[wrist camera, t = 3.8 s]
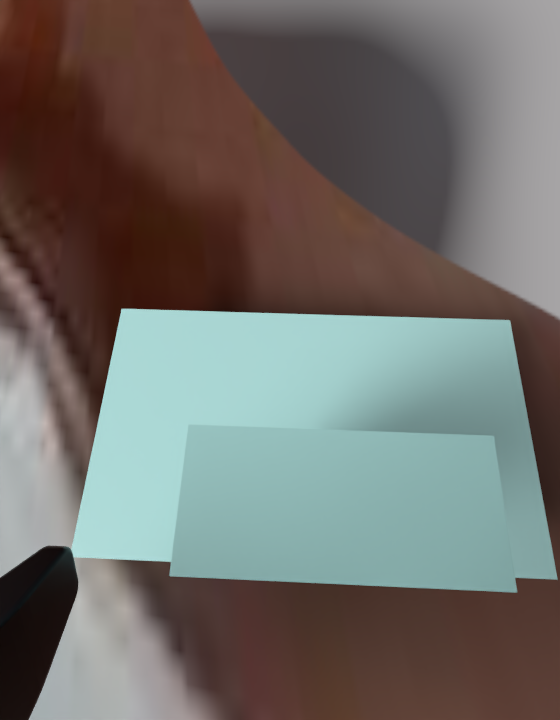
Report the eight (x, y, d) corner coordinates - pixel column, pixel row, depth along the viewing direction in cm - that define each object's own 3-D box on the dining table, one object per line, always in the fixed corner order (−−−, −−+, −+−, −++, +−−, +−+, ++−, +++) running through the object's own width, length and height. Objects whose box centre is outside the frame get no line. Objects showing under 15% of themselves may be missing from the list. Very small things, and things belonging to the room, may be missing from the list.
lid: (543, 578, 14) (950, 612, 5) (80, 556, 15) (-222, 557, 6) (500, 329, 18) (707, 111, 9) (128, 318, 18) (-18, 100, 9)
